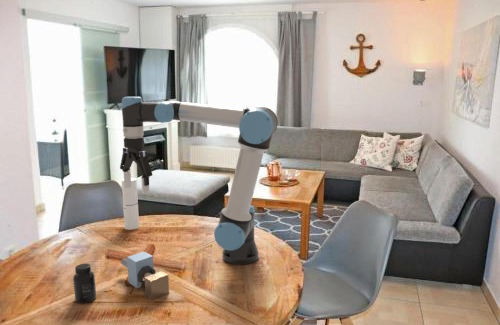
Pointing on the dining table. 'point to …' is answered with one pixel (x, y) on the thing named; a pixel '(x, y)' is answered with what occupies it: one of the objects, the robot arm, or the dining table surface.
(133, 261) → the sleeve
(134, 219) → the cylindrical container
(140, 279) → the ring
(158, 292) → the pipe rig
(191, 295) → the dining table surface
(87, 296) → the supplement bottle
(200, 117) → the robot arm
